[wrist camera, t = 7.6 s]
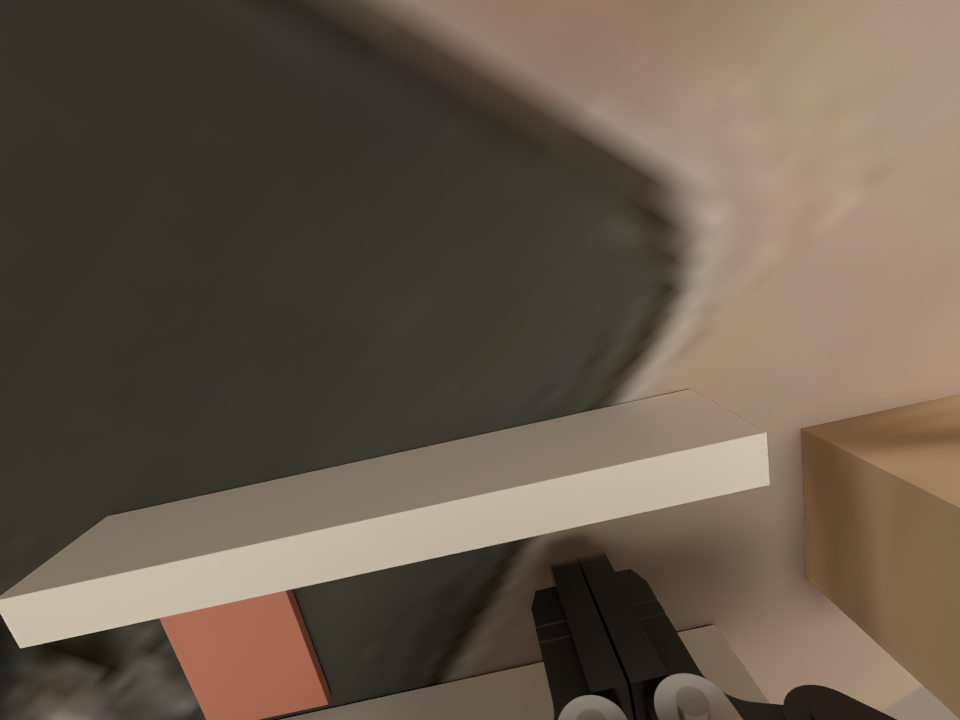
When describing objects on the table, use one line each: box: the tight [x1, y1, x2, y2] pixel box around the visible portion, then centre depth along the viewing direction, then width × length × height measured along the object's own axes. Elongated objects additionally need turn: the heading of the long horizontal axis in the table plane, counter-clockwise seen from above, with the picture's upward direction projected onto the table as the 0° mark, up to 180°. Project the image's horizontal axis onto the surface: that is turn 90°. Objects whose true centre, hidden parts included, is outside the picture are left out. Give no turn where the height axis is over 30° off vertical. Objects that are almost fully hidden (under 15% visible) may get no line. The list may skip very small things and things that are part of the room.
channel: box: [0, 389, 770, 720], centre depth 11 cm, size 16×9×3 cm, turn 102°
